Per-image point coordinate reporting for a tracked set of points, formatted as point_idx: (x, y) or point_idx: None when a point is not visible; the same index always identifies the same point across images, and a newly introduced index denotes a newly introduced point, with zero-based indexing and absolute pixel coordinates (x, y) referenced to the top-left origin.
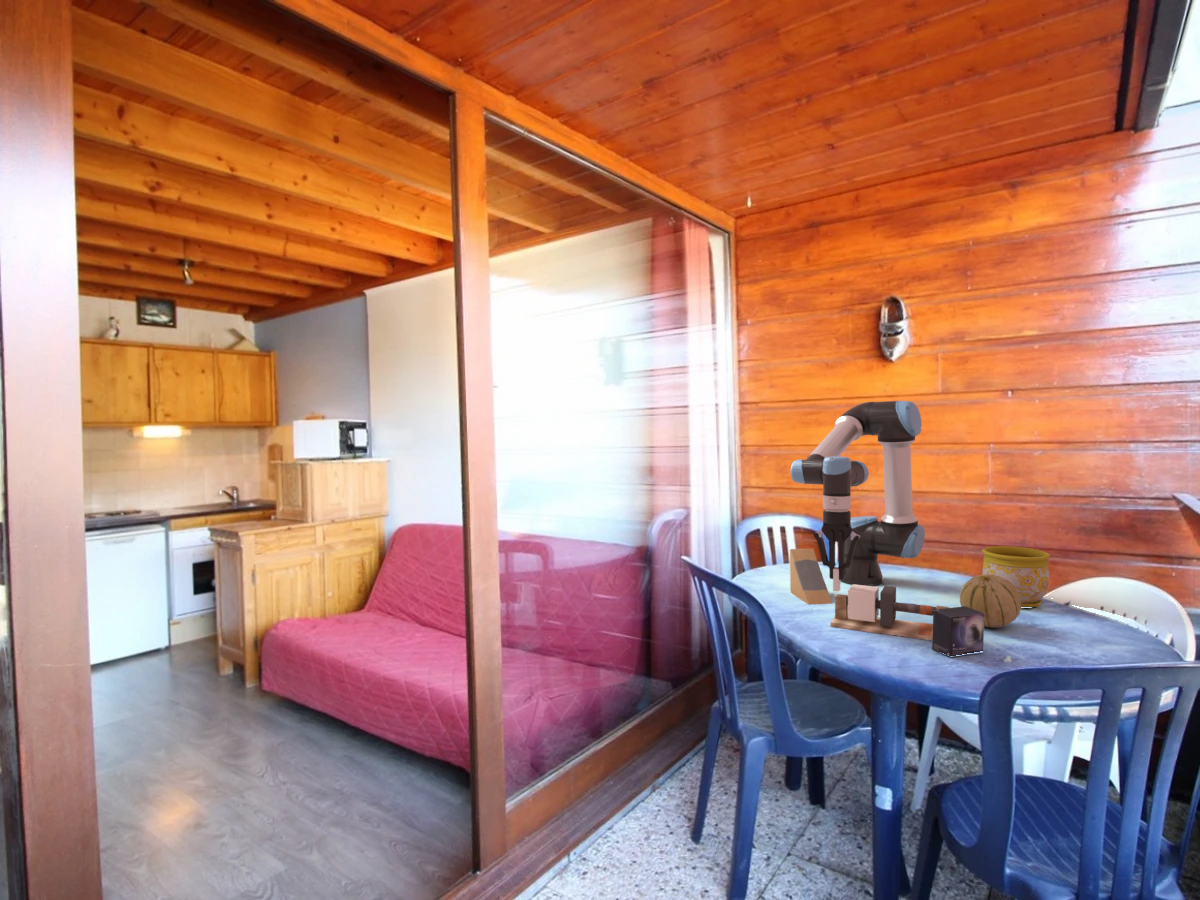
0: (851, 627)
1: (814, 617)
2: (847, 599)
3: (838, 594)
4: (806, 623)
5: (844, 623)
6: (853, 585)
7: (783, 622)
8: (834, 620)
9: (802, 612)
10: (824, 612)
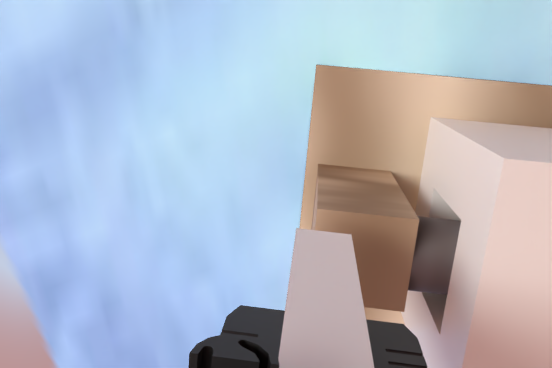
0: None
1: (177, 157)
2: (414, 290)
3: (331, 221)
4: (156, 290)
5: (374, 311)
6: (508, 222)
7: (37, 315)
8: None
9: (84, 74)
10: (219, 13)
